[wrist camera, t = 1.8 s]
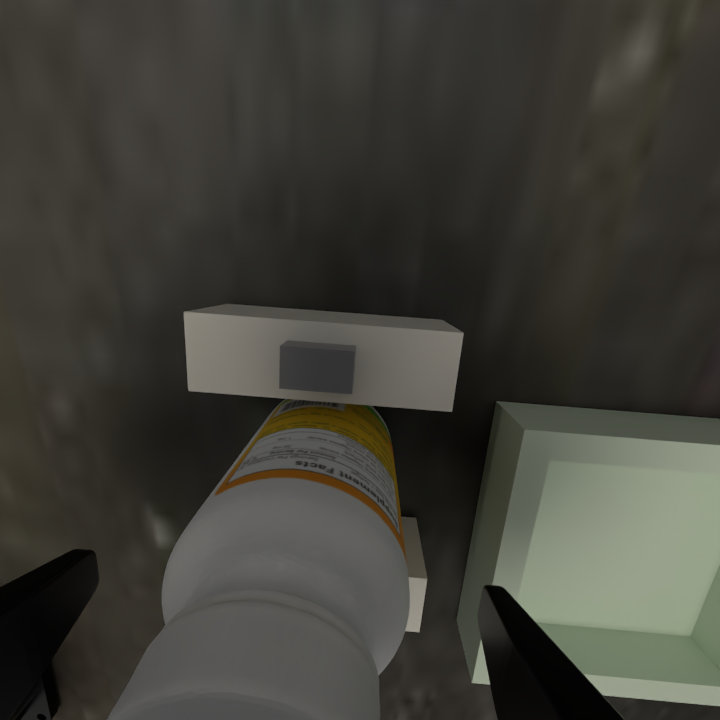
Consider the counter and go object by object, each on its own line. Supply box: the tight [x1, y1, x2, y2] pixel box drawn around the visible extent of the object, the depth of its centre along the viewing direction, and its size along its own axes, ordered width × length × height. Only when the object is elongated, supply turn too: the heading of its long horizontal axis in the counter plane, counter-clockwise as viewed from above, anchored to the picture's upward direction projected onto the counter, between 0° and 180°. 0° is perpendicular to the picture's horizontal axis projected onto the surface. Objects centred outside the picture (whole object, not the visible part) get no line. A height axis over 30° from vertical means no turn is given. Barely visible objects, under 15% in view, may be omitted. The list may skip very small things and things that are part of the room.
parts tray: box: [456, 401, 720, 706], centre depth 13 cm, size 11×11×2 cm
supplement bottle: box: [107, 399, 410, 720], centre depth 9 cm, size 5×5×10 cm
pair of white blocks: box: [184, 304, 464, 632], centre depth 12 cm, size 11×8×4 cm
